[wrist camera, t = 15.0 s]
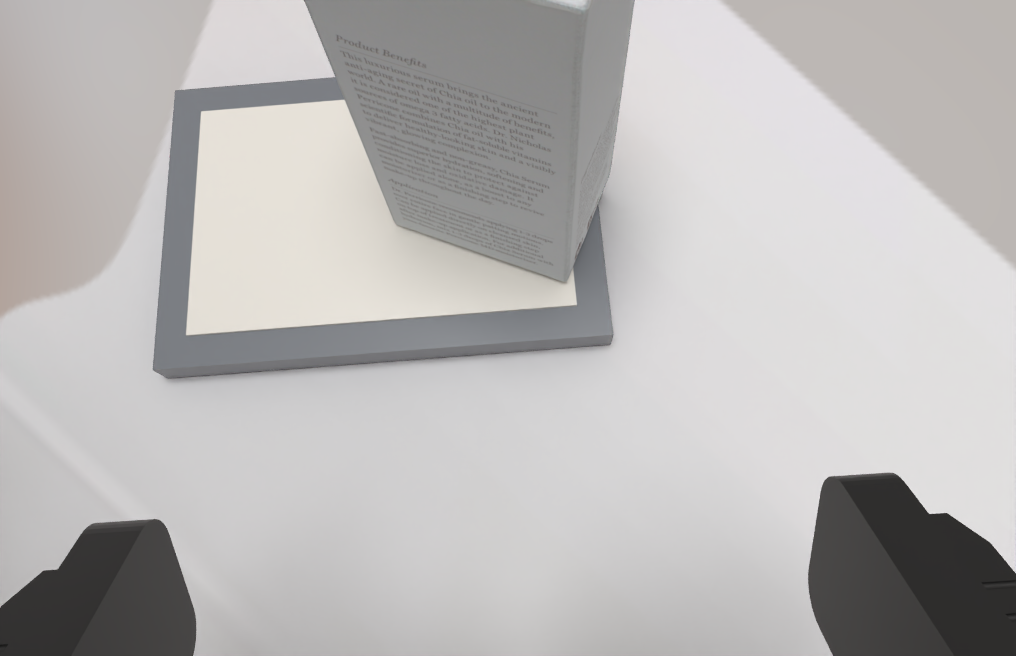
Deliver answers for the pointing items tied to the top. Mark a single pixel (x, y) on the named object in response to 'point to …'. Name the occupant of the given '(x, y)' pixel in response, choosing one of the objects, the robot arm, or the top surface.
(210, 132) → the picture frame
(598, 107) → the skincare box
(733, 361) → the top surface
